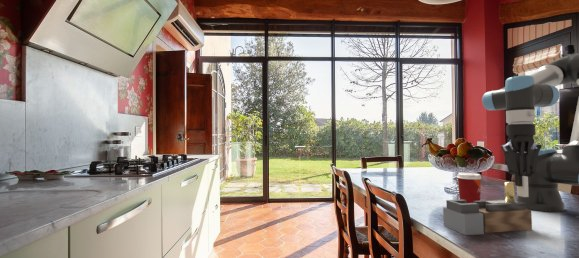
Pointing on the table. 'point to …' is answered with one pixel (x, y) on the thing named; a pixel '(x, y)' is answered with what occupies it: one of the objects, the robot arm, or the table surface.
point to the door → (505, 216)
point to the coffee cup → (469, 186)
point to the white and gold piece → (506, 194)
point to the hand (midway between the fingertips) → (522, 196)
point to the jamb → (463, 217)
